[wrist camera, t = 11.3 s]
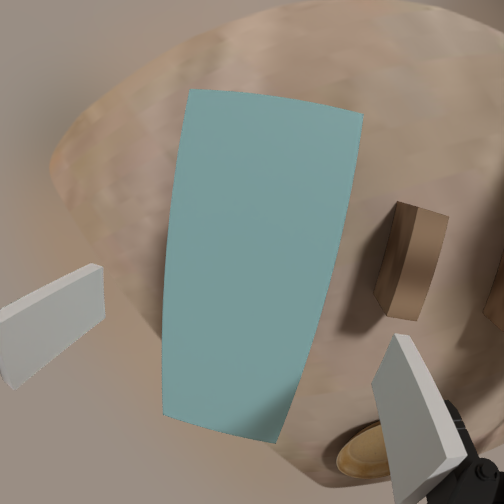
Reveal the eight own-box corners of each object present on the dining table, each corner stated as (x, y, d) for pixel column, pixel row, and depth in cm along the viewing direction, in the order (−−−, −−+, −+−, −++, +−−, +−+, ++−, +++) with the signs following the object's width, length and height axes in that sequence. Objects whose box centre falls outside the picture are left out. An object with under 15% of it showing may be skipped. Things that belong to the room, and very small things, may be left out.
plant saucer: (443, 394, 28) (449, 406, 26) (421, 455, 31) (424, 467, 29) (337, 414, 31) (338, 429, 28) (333, 472, 34) (334, 484, 32)
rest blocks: (397, 201, 24) (418, 207, 19) (521, 243, 22) (547, 254, 17) (373, 293, 26) (386, 316, 21) (497, 315, 24) (519, 334, 20)
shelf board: (278, 419, 19) (275, 443, 16) (175, 393, 20) (163, 414, 17) (353, 123, 13) (363, 114, 11) (205, 100, 14) (189, 89, 12)
